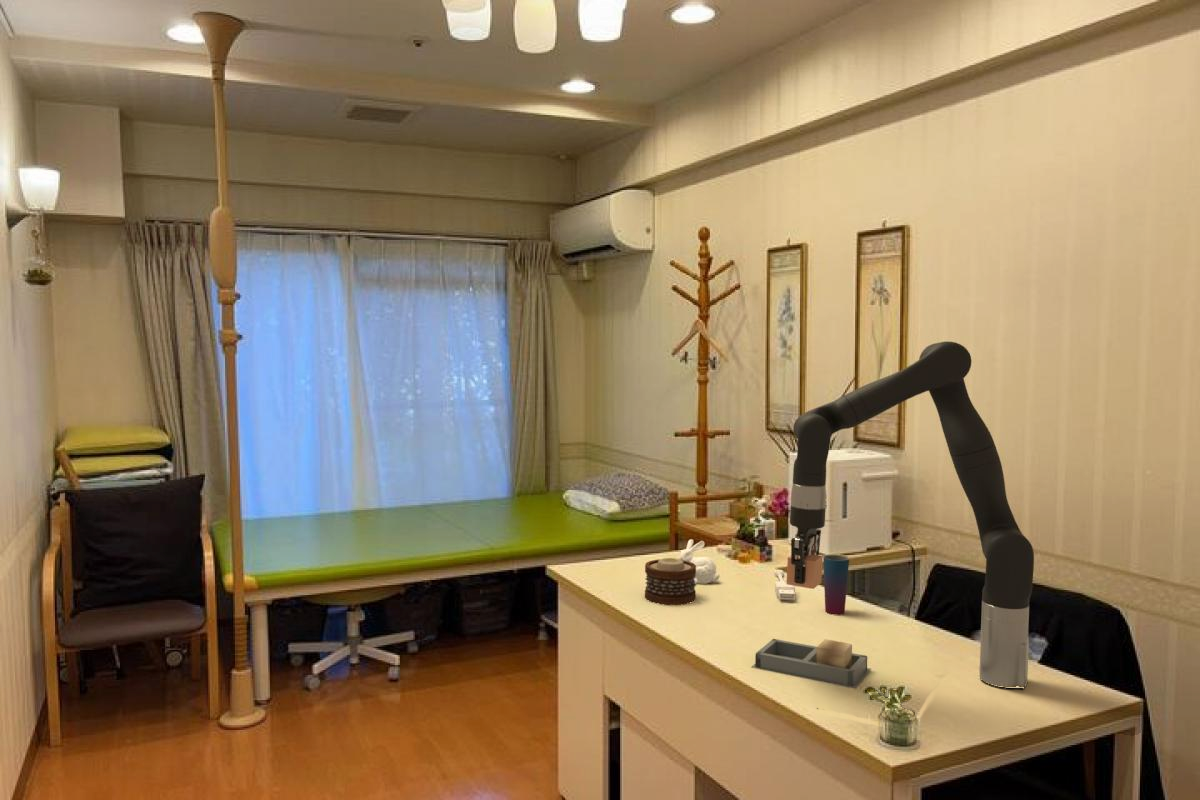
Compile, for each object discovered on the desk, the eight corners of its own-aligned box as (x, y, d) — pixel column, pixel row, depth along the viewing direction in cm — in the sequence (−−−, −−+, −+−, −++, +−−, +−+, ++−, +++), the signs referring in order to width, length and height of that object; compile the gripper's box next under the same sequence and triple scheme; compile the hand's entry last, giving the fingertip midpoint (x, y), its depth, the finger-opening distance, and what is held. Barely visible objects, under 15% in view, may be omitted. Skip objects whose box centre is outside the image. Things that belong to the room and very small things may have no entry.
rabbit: (677, 582, 271) (677, 543, 270) (685, 575, 280) (685, 537, 279) (716, 586, 267) (717, 546, 266) (723, 578, 275) (724, 540, 275)
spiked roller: (670, 551, 265) (707, 561, 254) (669, 587, 266) (707, 598, 254) (633, 559, 255) (671, 569, 244) (633, 596, 256) (670, 608, 245)
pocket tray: (871, 673, 198) (871, 655, 198) (855, 692, 187) (855, 674, 187) (771, 654, 210) (771, 637, 209) (750, 671, 198) (751, 653, 198)
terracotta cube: (821, 582, 199) (822, 556, 198) (813, 588, 193) (814, 561, 193) (795, 578, 202) (796, 551, 201) (786, 584, 196) (787, 557, 196)
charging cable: (786, 576, 282) (786, 566, 282) (796, 602, 250) (796, 590, 250) (770, 576, 283) (770, 565, 283) (777, 601, 251) (778, 590, 251)
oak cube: (851, 670, 197) (852, 643, 196) (843, 679, 191) (844, 652, 191) (824, 665, 200) (825, 639, 199) (816, 674, 195) (816, 647, 194)
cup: (830, 616, 238) (831, 561, 237) (817, 609, 245) (818, 555, 244) (852, 615, 240) (854, 559, 239) (839, 607, 246) (840, 553, 245)
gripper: (815, 511, 188) (811, 590, 189) (834, 501, 201) (830, 575, 202) (780, 507, 192) (776, 584, 193) (801, 497, 204) (797, 570, 206)
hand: (804, 579), depth 197 cm, fingers closed on terracotta cube, 6 cm apart
